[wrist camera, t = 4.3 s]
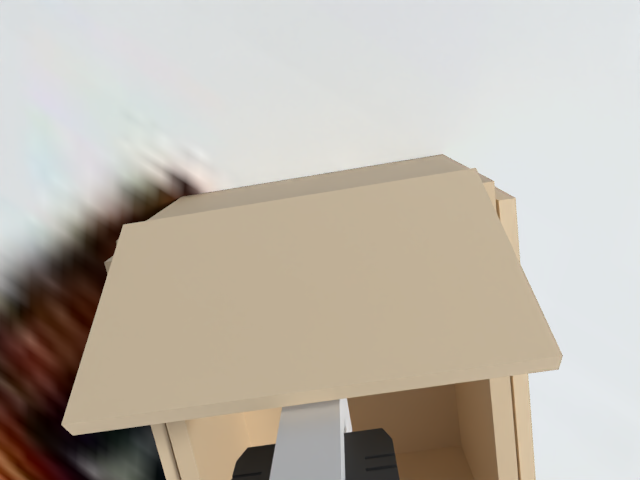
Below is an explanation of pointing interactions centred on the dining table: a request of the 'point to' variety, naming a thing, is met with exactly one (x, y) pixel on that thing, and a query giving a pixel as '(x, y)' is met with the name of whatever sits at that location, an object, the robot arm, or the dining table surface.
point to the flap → (308, 305)
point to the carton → (379, 409)
